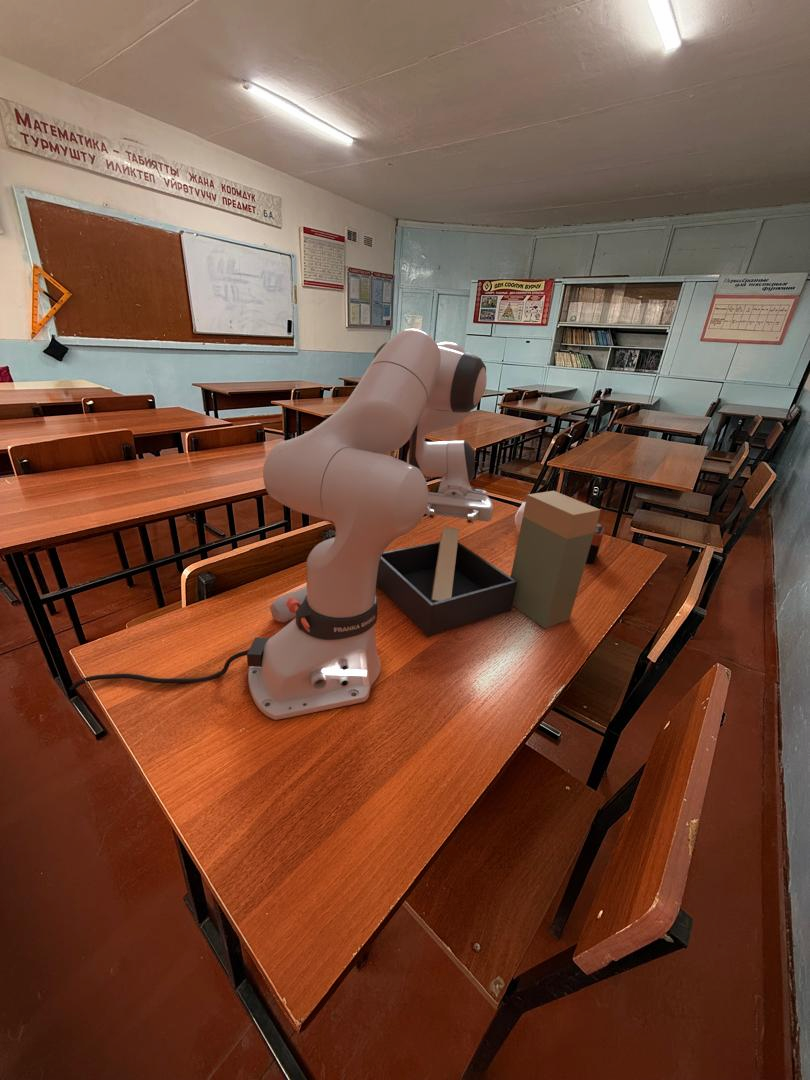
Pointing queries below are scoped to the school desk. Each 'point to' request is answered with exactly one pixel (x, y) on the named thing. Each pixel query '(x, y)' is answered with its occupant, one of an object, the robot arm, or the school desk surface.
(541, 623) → the stand
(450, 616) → the bin
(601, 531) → the battery
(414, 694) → the school desk surface
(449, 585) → the cream rectangular beam
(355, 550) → the robot arm
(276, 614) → the tube
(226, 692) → the school desk surface
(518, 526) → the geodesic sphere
